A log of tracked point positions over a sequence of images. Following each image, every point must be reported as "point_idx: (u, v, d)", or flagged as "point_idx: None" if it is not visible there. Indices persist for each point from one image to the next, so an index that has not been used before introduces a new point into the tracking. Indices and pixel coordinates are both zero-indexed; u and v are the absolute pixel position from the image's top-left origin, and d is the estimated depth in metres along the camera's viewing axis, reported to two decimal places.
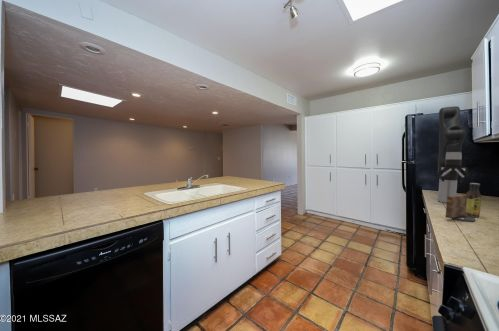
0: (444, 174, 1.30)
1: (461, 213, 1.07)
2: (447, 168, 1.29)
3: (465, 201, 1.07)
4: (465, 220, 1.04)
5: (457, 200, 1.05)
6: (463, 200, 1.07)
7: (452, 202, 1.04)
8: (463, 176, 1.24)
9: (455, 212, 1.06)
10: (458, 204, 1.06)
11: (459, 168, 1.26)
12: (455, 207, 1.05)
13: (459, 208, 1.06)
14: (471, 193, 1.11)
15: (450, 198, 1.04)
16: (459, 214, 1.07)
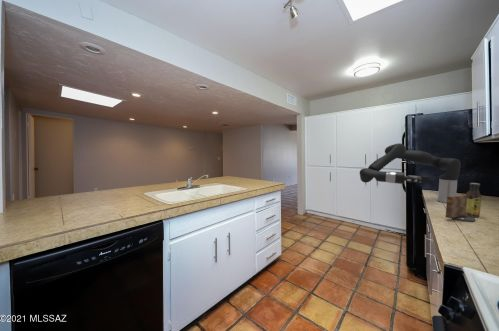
0: None
1: (461, 213, 1.07)
2: None
3: (465, 201, 1.07)
4: (465, 220, 1.04)
5: (457, 200, 1.05)
6: (463, 200, 1.07)
7: (452, 202, 1.04)
8: (419, 182, 1.11)
9: (455, 212, 1.06)
10: (458, 204, 1.06)
11: None
12: (455, 207, 1.05)
13: (459, 208, 1.06)
14: (471, 193, 1.11)
15: (450, 198, 1.04)
16: (459, 214, 1.07)
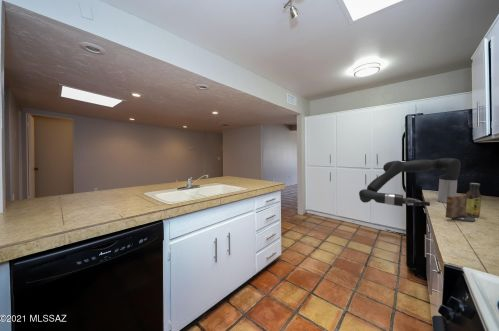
0: None
1: (461, 213, 1.07)
2: None
3: (465, 201, 1.07)
4: (465, 220, 1.04)
5: (457, 200, 1.05)
6: (463, 200, 1.07)
7: (452, 202, 1.04)
8: None
9: (455, 212, 1.06)
10: (458, 204, 1.06)
11: None
12: (455, 207, 1.05)
13: (459, 208, 1.06)
14: (471, 193, 1.11)
15: (450, 198, 1.04)
16: (459, 214, 1.07)
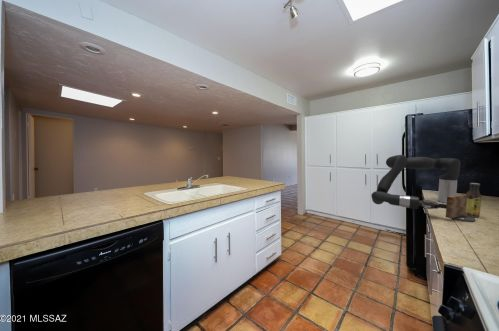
0: None
1: (461, 213, 1.07)
2: None
3: (465, 201, 1.07)
4: (465, 220, 1.04)
5: (458, 200, 1.05)
6: (463, 200, 1.07)
7: (452, 202, 1.04)
8: (437, 208, 1.09)
9: (455, 212, 1.06)
10: (458, 204, 1.06)
11: None
12: (455, 207, 1.05)
13: (459, 208, 1.06)
14: (471, 193, 1.11)
15: (450, 198, 1.04)
16: (459, 214, 1.07)
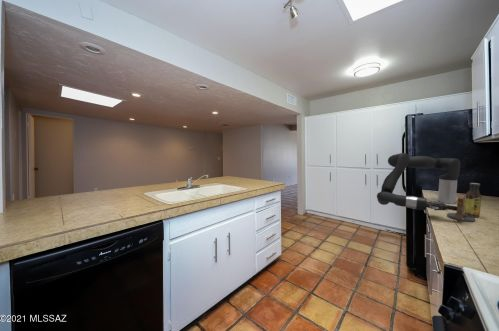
0: None
1: (463, 213, 1.07)
2: None
3: (464, 201, 1.08)
4: (465, 220, 1.04)
5: (463, 201, 1.04)
6: (464, 200, 1.07)
7: (463, 204, 1.01)
8: (446, 209, 1.06)
9: (462, 213, 1.03)
10: (463, 205, 1.04)
11: None
12: (463, 208, 1.03)
13: (463, 209, 1.05)
14: (471, 193, 1.11)
15: (461, 200, 1.01)
16: (463, 215, 1.06)
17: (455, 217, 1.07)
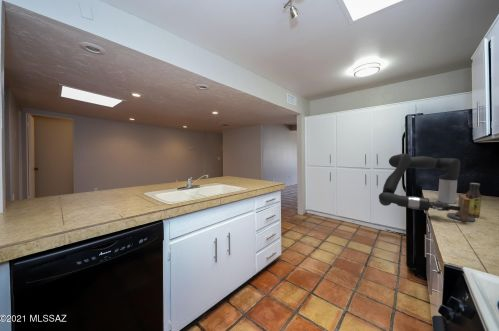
0: None
1: None
2: None
3: None
4: None
5: None
6: None
7: (468, 204, 1.00)
8: None
9: None
10: None
11: None
12: None
13: None
14: (471, 193, 1.11)
15: (468, 201, 0.99)
16: None
17: (455, 217, 1.07)
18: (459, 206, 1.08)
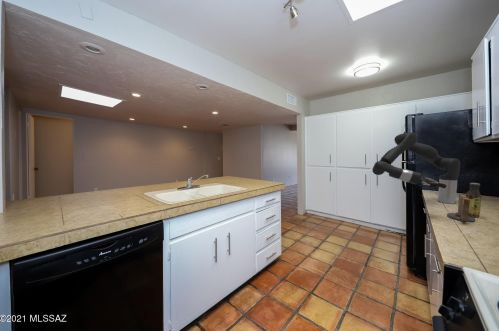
0: None
1: None
2: None
3: None
4: None
5: None
6: None
7: (468, 204, 1.00)
8: (435, 186, 1.11)
9: None
10: None
11: None
12: None
13: None
14: (471, 193, 1.11)
15: (468, 201, 0.99)
16: None
17: (455, 217, 1.07)
18: (459, 206, 1.08)
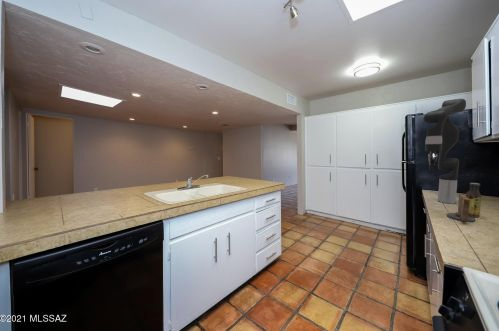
0: (429, 161, 1.20)
1: None
2: None
3: None
4: None
5: None
6: None
7: (468, 204, 1.00)
8: (429, 163, 1.19)
9: None
10: None
11: (430, 155, 1.17)
12: None
13: None
14: (471, 193, 1.11)
15: (468, 201, 0.99)
16: None
17: (455, 217, 1.07)
18: (459, 206, 1.08)
